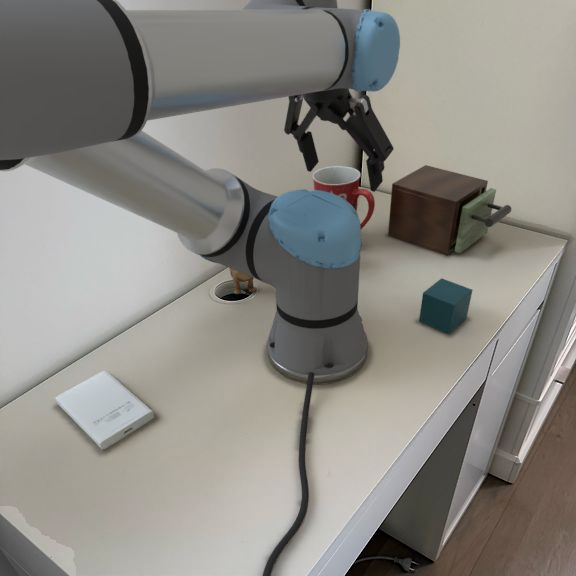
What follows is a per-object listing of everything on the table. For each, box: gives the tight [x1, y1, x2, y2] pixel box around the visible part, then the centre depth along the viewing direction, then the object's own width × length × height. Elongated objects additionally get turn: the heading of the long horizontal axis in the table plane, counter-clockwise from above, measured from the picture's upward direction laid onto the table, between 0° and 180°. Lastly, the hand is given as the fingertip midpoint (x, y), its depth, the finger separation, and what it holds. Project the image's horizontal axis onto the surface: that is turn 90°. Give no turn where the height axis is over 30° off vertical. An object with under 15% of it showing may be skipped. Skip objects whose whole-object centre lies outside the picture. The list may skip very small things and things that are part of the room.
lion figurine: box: [229, 268, 257, 295], centre depth 96 cm, size 15×5×9 cm, turn 6°
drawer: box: [451, 187, 512, 254], centre depth 103 cm, size 17×10×9 cm, turn 47°
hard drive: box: [54, 370, 155, 451], centre depth 75 cm, size 2×8×12 cm
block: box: [418, 277, 473, 335], centre depth 86 cm, size 6×6×6 cm
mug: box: [311, 165, 376, 231], centre depth 104 cm, size 13×9×14 cm
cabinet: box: [387, 164, 489, 256], centre depth 106 cm, size 14×12×11 cm
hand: (344, 176), depth 96 cm, fingers open, 13 cm apart
